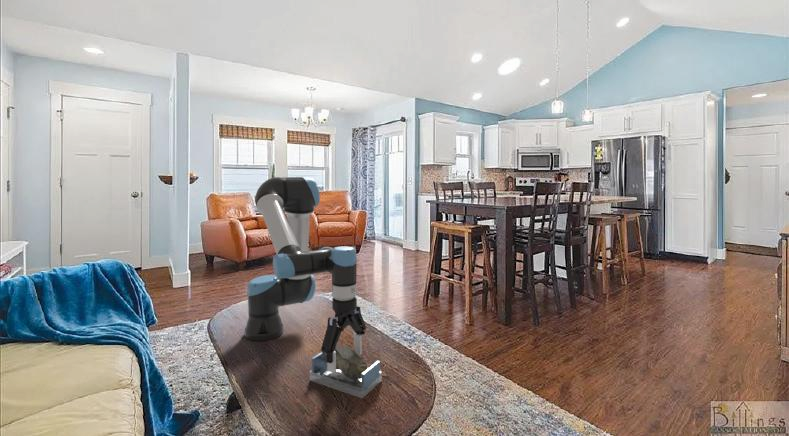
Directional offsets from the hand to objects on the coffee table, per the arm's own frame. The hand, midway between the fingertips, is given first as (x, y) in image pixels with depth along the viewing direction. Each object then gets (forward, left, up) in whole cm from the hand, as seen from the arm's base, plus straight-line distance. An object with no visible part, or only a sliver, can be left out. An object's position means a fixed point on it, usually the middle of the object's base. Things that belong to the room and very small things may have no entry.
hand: (345, 362), depth 121 cm
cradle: (0, 0, -6) cm, 6 cm away
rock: (-1, 0, -3) cm, 3 cm away
